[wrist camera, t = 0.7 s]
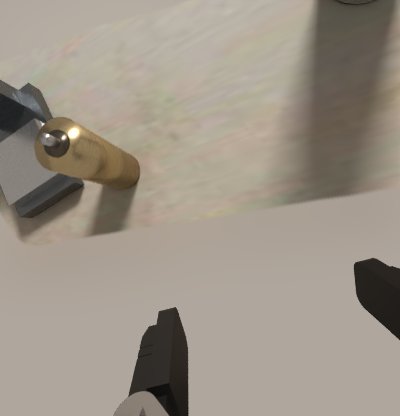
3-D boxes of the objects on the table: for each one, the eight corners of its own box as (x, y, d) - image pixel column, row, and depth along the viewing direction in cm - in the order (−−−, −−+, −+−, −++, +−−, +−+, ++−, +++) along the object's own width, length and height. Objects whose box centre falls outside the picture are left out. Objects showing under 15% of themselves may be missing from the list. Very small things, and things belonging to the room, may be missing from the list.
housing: (117, 147, 35) (37, 99, 22) (146, 164, 34) (80, 125, 21) (100, 178, 35) (9, 150, 22) (127, 196, 34) (50, 178, 21)
